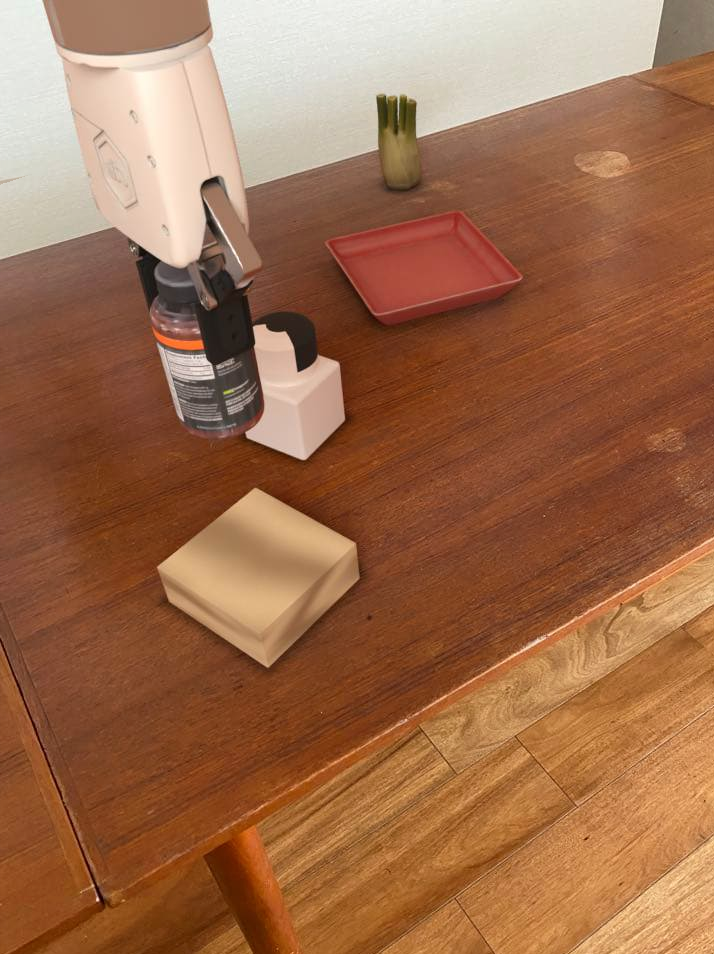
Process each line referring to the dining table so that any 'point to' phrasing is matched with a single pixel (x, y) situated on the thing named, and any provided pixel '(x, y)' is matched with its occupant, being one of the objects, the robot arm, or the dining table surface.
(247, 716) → the dining table surface
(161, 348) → the supplement bottle
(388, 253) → the plant saucer
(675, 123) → the dining table surface
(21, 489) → the dining table surface
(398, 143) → the fennel bulb
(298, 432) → the medicine bottle
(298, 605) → the block
